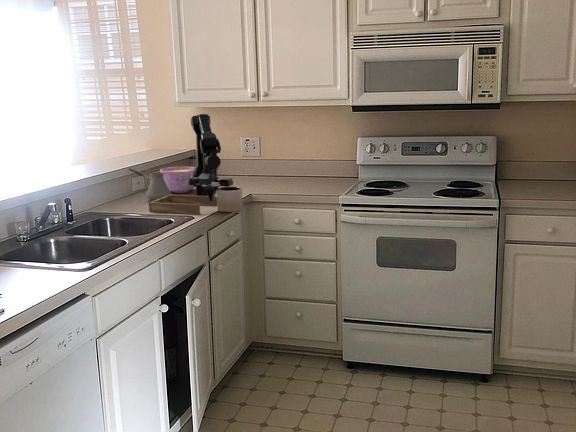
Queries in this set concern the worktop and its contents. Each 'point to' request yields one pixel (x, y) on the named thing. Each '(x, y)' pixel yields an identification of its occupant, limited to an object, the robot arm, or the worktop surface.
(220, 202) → the planter
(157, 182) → the coffee pot
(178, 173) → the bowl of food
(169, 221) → the worktop surface
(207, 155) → the robot arm
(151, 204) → the wooden tray
